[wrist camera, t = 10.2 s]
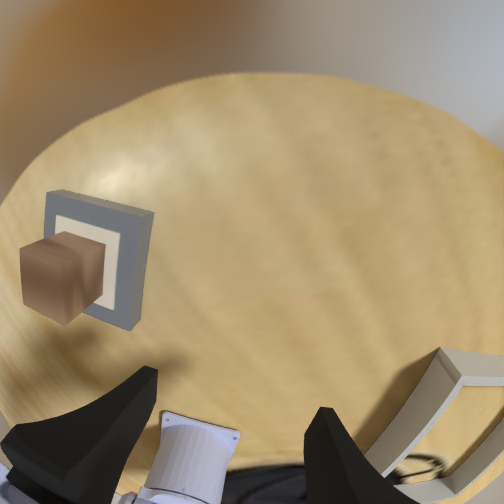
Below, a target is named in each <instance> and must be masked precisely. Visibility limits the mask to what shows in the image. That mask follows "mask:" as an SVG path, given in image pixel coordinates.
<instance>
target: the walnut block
mask: <svg viewBox="0 0 504 504" xmlns="http://www.w3.org/2000/svg"><path fill="white" fill-rule="evenodd" d="M105 248H106V244H103V243H100V242H97V241H94V240H91V239H88V238H85V237H81V236H78V235H75V234H72V233H69V232H66V231H63V232H60V233H58V234H55V235H52V236H50V237H47V238H45V239H42V240H40V241H37V242H35V243H32V244H30V245H27V246H25V247H22V248H20V270H21V284H22V294H23V303H24V305H26V306H28V307H30V308H31V309H33V310H35V311H37V312H39V313H41V314H43V315H45V316H46V317H48V318H50V319H52V320H54V321H56V322H58V323H60V324H62V325H64V326H66V325H67V324H68V323H69V322H70V321H72V320H73V319H74V318H75V317H76V316H78V315H79V314H80V313H81V312H82V311H84V310H85V309H86V308H87V307H88V306H90V305H91V304H92V303H93V302H94V301H96V300H97V299H98V298H99V297H101V296H102V295H103V277H104V261H105Z"/></svg>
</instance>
